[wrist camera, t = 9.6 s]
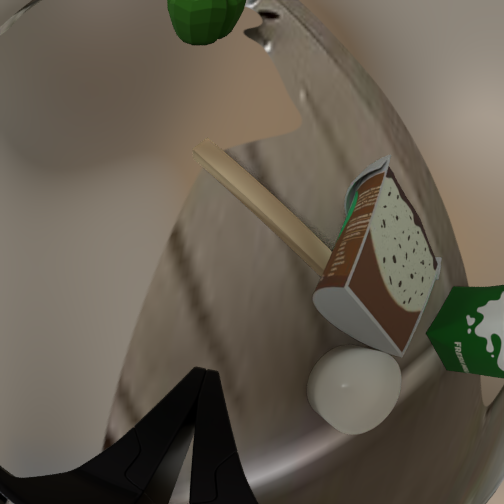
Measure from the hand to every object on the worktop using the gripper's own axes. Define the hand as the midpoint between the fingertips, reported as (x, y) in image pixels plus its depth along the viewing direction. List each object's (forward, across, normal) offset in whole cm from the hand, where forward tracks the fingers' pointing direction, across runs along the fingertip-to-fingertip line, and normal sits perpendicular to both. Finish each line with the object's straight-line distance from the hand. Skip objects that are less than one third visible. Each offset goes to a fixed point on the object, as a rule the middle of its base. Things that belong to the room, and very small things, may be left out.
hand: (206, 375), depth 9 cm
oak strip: (+15, -2, -2) cm, 15 cm away
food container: (+8, -8, +3) cm, 12 cm away
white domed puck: (+9, -10, +10) cm, 17 cm away
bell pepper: (+26, +9, -20) cm, 34 cm away
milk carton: (+14, -25, +7) cm, 29 cm away
